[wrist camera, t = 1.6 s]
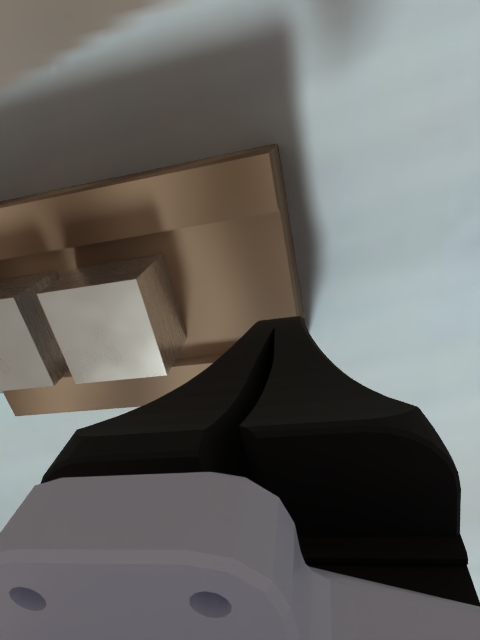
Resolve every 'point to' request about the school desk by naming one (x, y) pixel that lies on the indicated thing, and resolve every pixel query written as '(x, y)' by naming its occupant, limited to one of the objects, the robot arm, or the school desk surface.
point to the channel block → (180, 257)
